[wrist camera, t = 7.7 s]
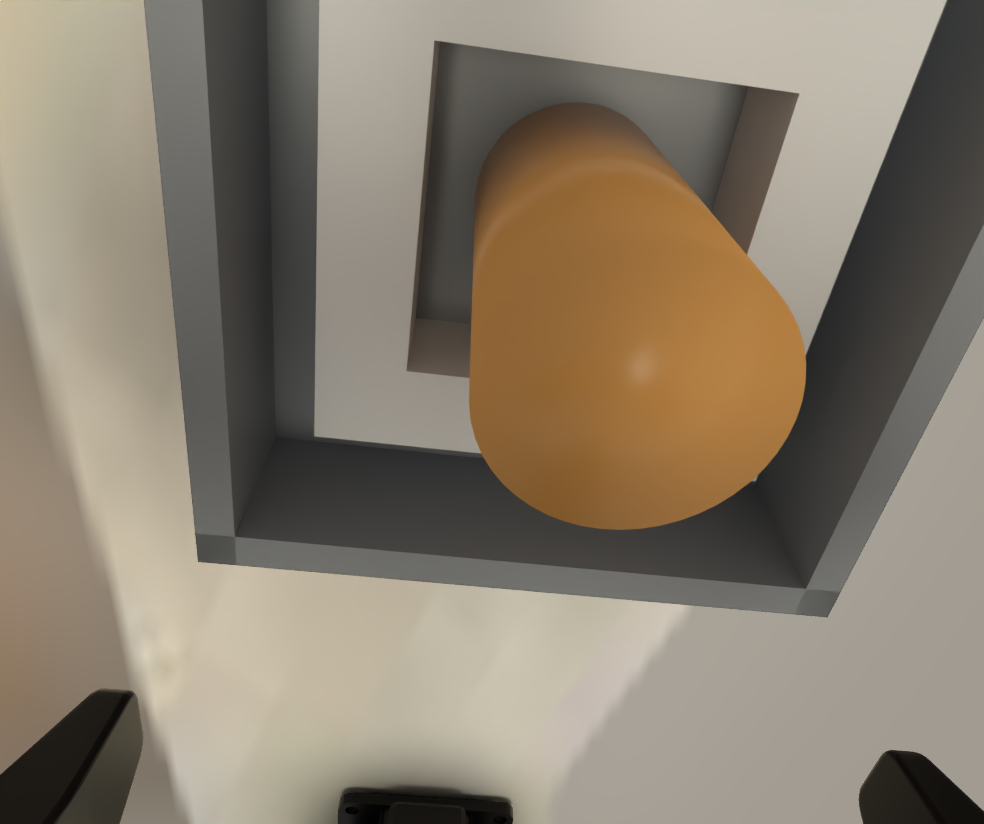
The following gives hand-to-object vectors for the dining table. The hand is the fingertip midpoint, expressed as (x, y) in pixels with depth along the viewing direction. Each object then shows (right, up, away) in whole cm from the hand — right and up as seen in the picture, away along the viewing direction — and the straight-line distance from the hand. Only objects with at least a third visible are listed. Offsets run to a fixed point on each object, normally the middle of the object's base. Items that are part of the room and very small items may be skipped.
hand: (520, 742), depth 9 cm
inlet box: (+1, +9, +7) cm, 12 cm away
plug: (+1, +8, +7) cm, 11 cm away
